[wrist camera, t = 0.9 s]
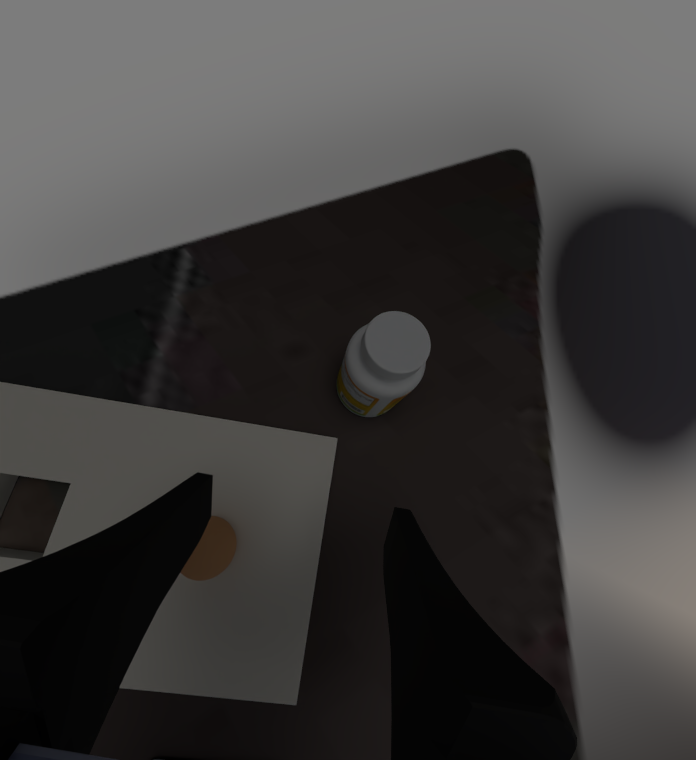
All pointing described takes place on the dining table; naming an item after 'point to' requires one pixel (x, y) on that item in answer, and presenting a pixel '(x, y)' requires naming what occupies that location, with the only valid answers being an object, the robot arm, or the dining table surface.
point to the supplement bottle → (383, 363)
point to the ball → (212, 551)
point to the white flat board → (229, 501)
